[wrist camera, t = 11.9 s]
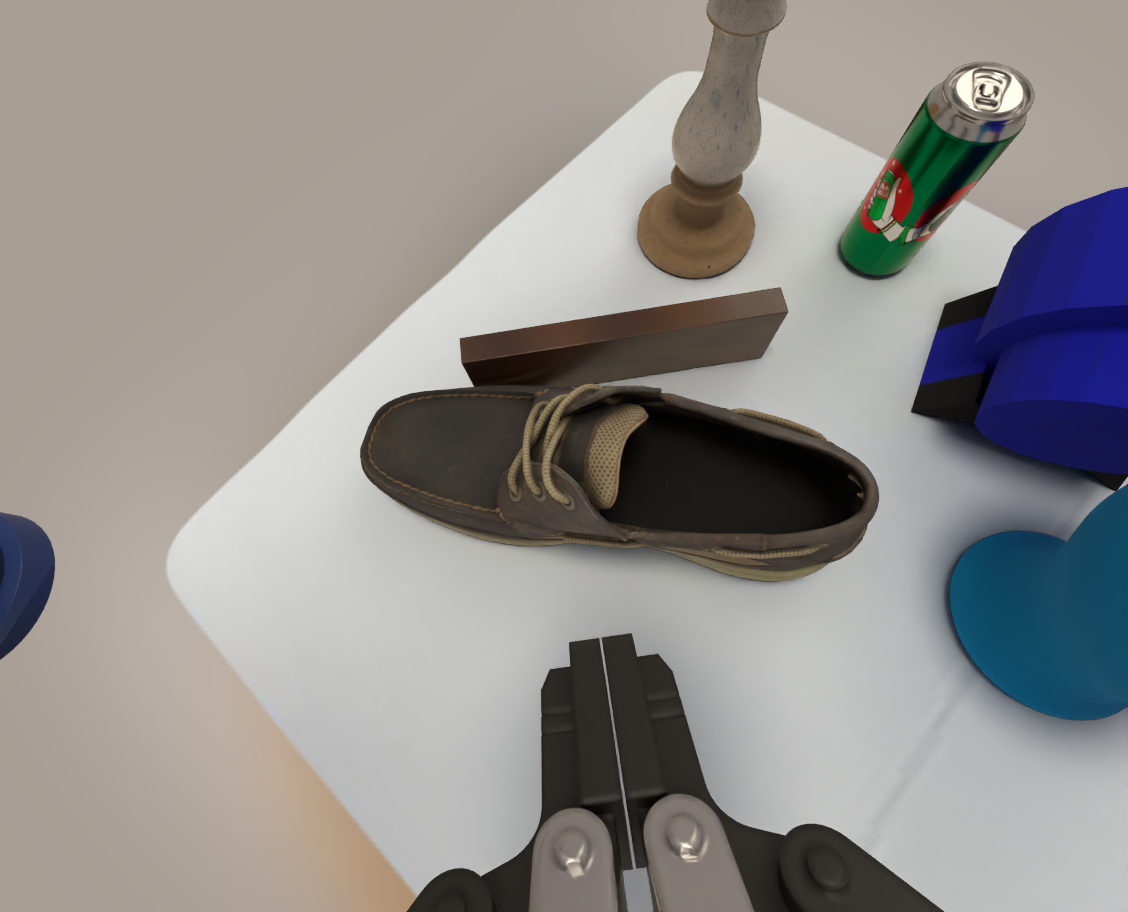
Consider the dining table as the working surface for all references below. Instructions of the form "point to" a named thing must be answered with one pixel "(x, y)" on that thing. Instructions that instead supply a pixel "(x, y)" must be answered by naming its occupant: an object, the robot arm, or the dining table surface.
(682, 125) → the candle holder
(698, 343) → the thin brown rectangular board
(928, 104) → the soda can
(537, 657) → the dining table surface
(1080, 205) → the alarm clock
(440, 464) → the boat shoe
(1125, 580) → the vase
